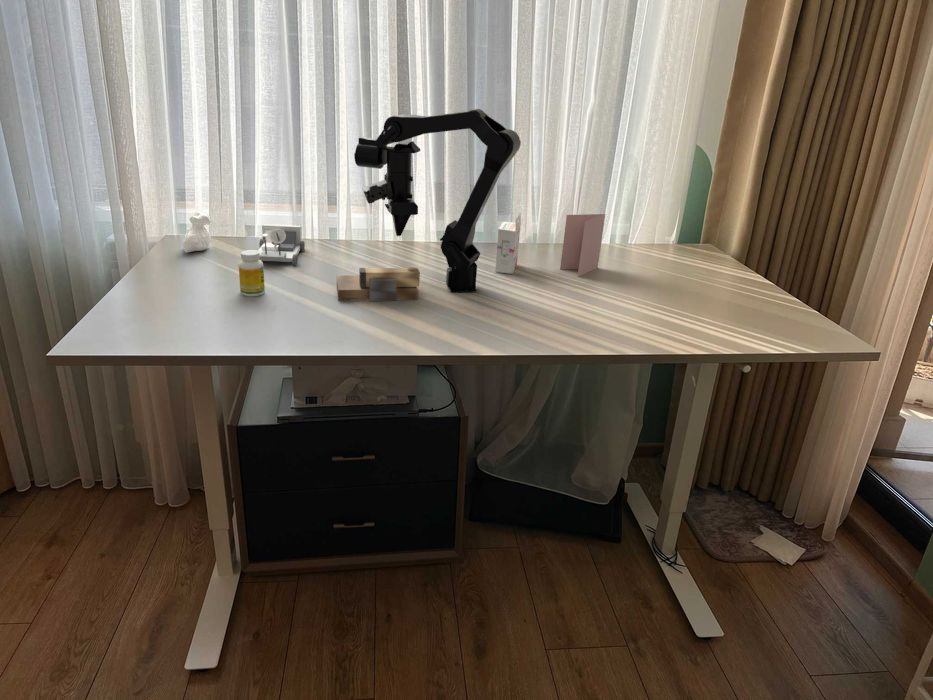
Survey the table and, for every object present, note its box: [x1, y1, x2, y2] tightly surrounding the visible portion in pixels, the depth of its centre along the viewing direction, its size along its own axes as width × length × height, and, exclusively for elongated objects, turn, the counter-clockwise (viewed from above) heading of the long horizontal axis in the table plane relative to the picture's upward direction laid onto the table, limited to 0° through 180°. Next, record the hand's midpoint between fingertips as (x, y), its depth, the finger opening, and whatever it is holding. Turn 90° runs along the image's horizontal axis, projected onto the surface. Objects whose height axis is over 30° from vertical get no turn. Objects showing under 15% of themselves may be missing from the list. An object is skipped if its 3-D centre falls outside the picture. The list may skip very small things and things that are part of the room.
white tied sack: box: [182, 210, 212, 253], centre depth 187 cm, size 12×8×11 cm
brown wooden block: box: [336, 275, 419, 302], centre depth 166 cm, size 18×11×5 cm, turn 102°
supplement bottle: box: [238, 249, 265, 297], centre depth 160 cm, size 5×5×10 cm
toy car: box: [257, 223, 306, 267], centre depth 185 cm, size 18×10×12 cm
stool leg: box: [358, 266, 421, 288], centre depth 164 cm, size 14×3×4 cm, turn 103°
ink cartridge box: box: [494, 212, 522, 275], centre depth 187 cm, size 9×5×15 cm, turn 168°
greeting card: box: [559, 213, 606, 277], centre depth 189 cm, size 11×7×15 cm, turn 108°
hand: (398, 235), depth 174 cm, fingers closed
